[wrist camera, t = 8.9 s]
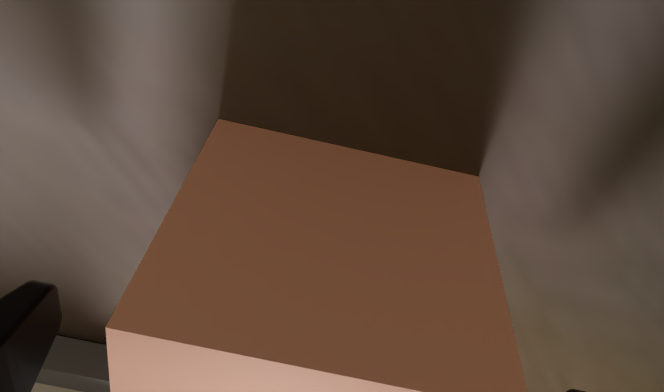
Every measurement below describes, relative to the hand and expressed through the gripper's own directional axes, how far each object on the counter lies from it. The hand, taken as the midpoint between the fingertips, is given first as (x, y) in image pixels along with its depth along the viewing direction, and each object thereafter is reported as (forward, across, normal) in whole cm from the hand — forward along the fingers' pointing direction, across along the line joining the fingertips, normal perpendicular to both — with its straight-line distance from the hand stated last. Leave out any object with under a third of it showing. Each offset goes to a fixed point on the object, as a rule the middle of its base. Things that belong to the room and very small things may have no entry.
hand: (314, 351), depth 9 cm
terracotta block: (+3, 0, 0) cm, 3 cm away
